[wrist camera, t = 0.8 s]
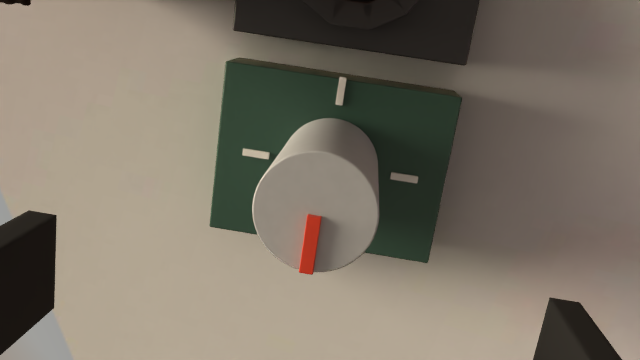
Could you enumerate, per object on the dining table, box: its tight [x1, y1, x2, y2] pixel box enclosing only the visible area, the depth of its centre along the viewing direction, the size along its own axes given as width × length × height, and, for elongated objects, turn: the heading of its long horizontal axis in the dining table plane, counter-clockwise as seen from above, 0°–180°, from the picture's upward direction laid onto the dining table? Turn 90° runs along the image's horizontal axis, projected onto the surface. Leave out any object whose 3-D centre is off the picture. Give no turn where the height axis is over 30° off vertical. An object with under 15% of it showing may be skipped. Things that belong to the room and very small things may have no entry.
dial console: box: [210, 58, 462, 263], centre depth 32 cm, size 9×12×3 cm
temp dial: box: [252, 118, 379, 275], centre depth 27 cm, size 5×5×8 cm
